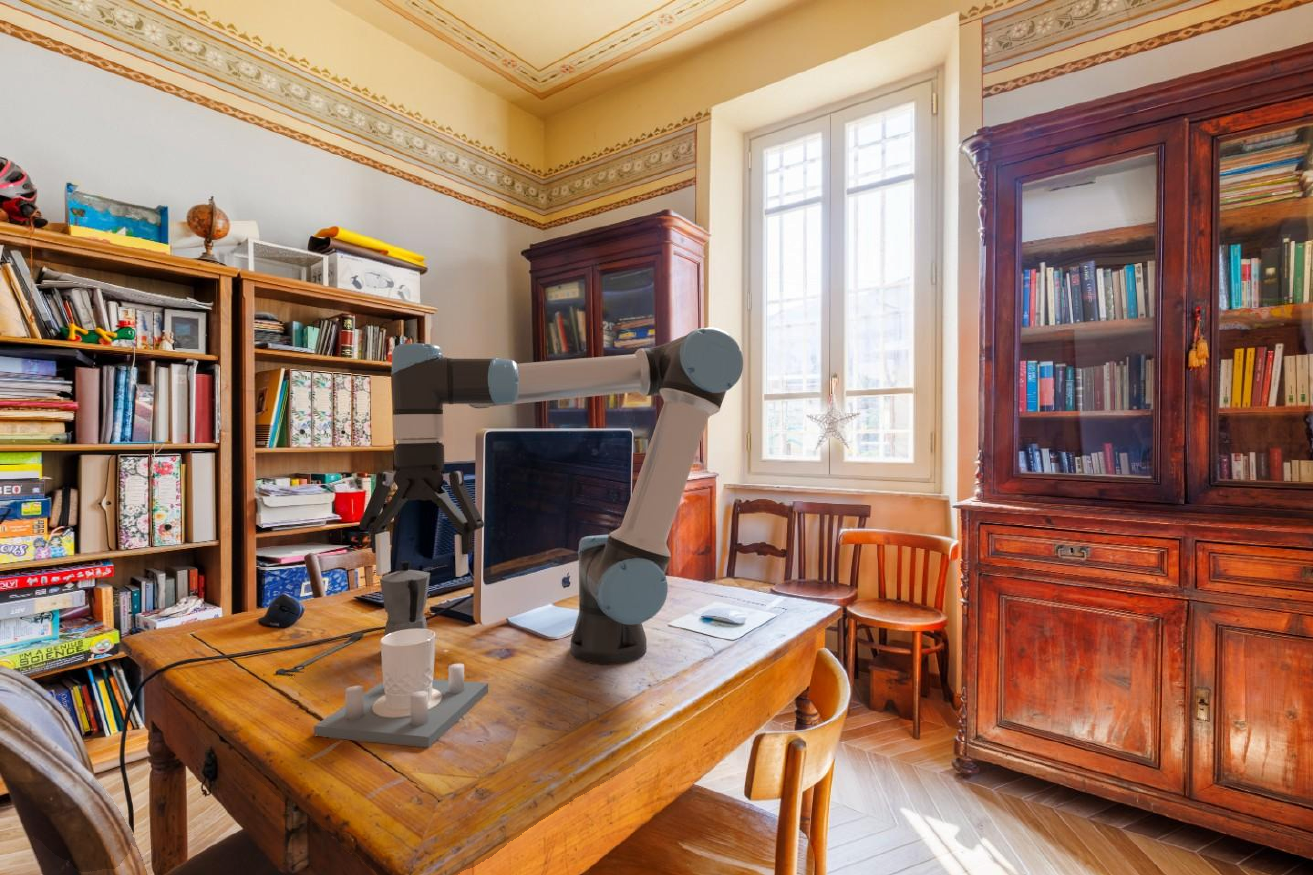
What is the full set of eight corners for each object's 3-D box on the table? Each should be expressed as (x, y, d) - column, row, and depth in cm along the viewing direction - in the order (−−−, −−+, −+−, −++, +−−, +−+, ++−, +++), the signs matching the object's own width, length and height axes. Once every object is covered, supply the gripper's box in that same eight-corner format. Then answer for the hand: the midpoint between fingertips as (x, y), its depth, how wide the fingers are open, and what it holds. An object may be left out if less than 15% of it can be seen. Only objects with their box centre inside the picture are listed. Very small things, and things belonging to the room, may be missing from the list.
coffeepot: (375, 645, 122) (374, 558, 122) (423, 637, 128) (423, 552, 127) (388, 671, 110) (387, 572, 109) (441, 660, 115) (440, 566, 114)
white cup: (391, 690, 97) (391, 629, 97) (441, 688, 98) (441, 627, 97) (372, 713, 89) (372, 646, 89) (427, 711, 90) (426, 644, 90)
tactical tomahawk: (304, 683, 107) (304, 677, 107) (273, 677, 108) (273, 671, 108) (384, 641, 127) (384, 636, 127) (357, 636, 129) (357, 631, 129)
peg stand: (488, 691, 100) (487, 659, 100) (428, 747, 83) (428, 707, 83) (391, 684, 104) (390, 652, 104) (314, 736, 86) (313, 698, 86)
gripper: (502, 439, 98) (505, 569, 98) (363, 442, 101) (366, 567, 102) (482, 440, 90) (485, 581, 91) (332, 443, 94) (336, 578, 94)
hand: (422, 574), depth 96 cm, fingers open, 13 cm apart
